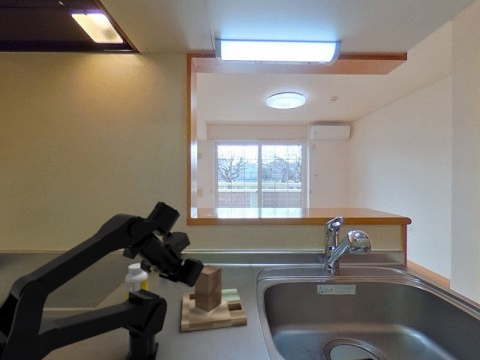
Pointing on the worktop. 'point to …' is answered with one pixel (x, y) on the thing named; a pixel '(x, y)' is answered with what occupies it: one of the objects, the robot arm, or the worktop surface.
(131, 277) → the supplement bottle
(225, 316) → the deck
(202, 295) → the walnut box
